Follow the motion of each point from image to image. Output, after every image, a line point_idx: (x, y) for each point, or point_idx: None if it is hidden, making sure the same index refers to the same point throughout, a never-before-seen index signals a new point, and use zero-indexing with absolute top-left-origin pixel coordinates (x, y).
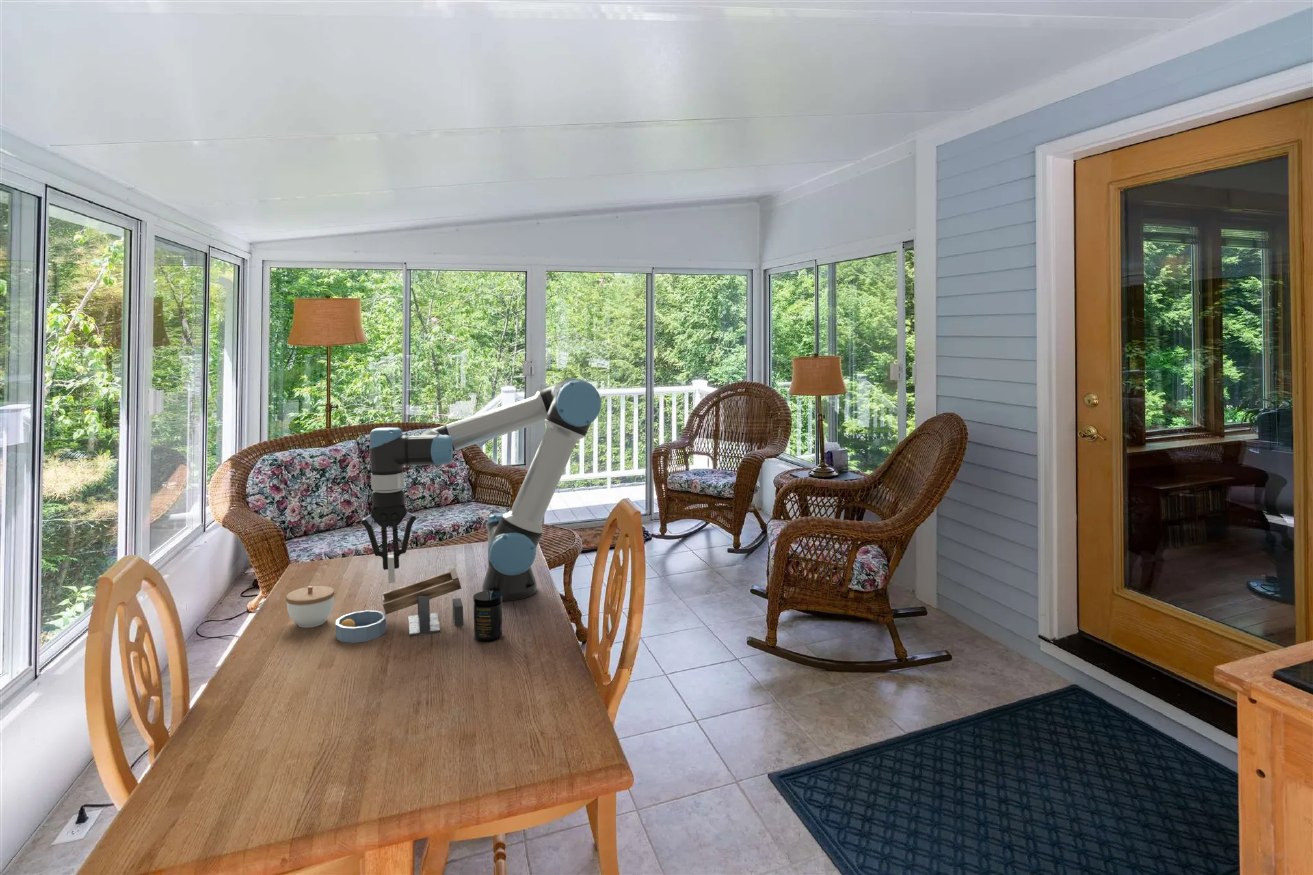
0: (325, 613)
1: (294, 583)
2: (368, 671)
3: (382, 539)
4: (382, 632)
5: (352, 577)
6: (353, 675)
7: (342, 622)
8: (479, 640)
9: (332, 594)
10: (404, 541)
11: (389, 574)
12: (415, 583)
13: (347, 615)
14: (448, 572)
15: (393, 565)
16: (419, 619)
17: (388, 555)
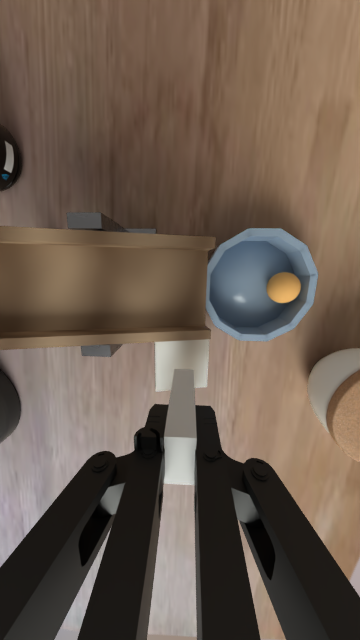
0: (329, 360)
1: (343, 566)
2: (248, 40)
3: (251, 629)
4: (209, 259)
5: (247, 560)
6: (281, 26)
7: (299, 286)
8: (8, 131)
9: (337, 397)
10: (50, 548)
11: (190, 385)
12: (111, 337)
13: (286, 324)
14: None
15: (171, 406)
16: (126, 230)
17: (190, 478)
